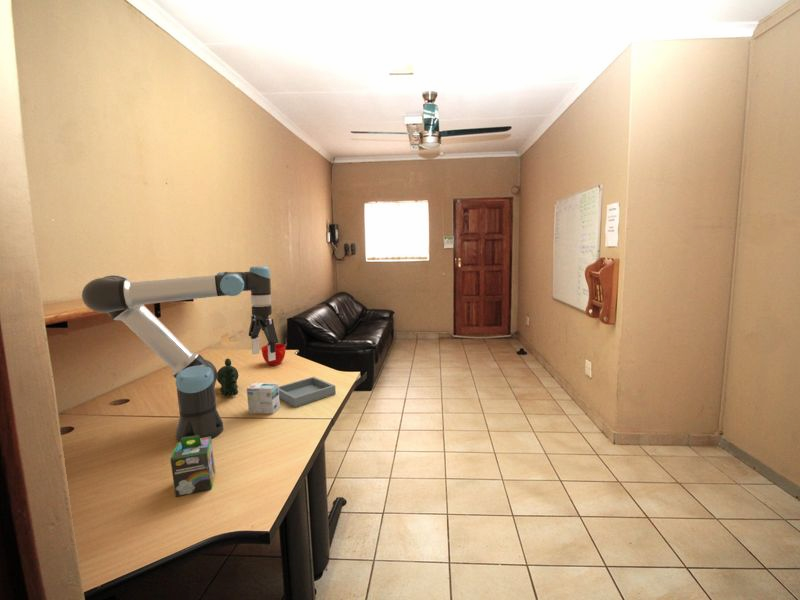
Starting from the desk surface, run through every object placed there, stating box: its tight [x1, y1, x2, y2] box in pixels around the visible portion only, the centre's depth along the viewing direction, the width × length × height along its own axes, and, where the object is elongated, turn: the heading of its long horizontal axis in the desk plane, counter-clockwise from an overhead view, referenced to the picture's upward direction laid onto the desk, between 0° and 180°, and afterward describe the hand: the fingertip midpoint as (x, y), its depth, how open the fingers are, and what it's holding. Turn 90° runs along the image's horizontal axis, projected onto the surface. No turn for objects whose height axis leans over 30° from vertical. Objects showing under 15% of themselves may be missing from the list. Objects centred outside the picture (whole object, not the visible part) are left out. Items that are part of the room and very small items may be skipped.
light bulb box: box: [246, 382, 281, 415], centre depth 158 cm, size 11×7×11 cm, turn 84°
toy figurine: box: [216, 358, 239, 397], centre depth 179 cm, size 9×19×25 cm
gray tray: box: [278, 376, 336, 408], centre depth 173 cm, size 20×18×4 cm
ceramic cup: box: [261, 343, 286, 366], centre depth 220 cm, size 13×17×10 cm
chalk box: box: [170, 435, 216, 498], centre depth 108 cm, size 9×9×15 cm
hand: (263, 357), depth 158 cm, fingers open, 13 cm apart
